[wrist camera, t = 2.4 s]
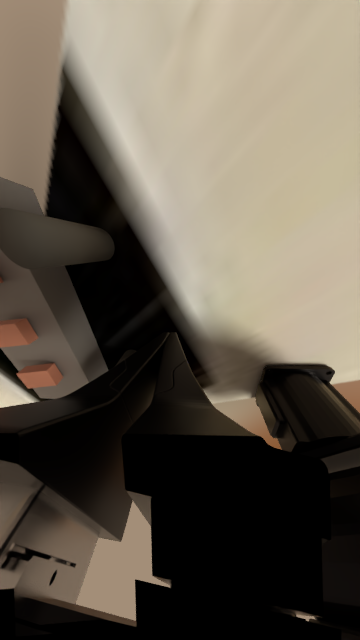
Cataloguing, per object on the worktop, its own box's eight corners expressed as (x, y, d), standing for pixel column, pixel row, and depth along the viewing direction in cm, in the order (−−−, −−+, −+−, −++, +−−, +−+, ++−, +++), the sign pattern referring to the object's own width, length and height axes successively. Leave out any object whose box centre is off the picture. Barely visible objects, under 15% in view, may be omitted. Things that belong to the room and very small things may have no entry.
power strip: (32, 189, 10) (-24, 168, 8) (112, 380, 19) (98, 401, 17) (-51, 203, 11) (-126, 190, 9) (61, 378, 20) (40, 397, 18)
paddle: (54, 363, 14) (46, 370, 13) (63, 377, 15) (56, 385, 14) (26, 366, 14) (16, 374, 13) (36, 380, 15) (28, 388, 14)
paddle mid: (26, 318, 12) (14, 323, 11) (38, 337, 13) (28, 344, 12) (-8, 321, 12) (-23, 327, 11) (7, 341, 13) (-6, 348, 12)
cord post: (109, 226, 11) (26, 204, 6) (118, 259, 12) (54, 267, 7) (81, 229, 11) (-22, 211, 6) (92, 261, 12) (13, 271, 7)
